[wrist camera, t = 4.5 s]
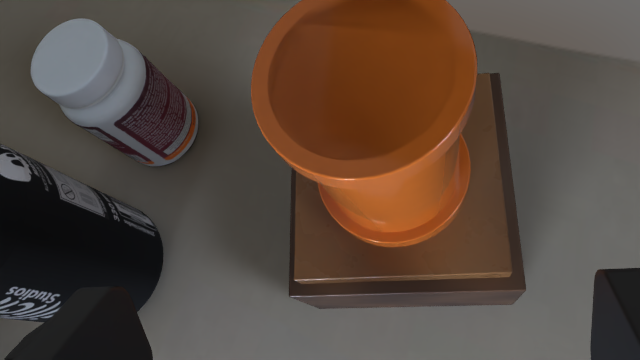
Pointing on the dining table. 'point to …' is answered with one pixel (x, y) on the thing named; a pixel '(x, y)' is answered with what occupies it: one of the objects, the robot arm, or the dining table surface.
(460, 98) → the spool
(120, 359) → the robot arm
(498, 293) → the wooden box
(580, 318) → the dining table surface
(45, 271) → the beverage can
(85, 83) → the pill bottle
